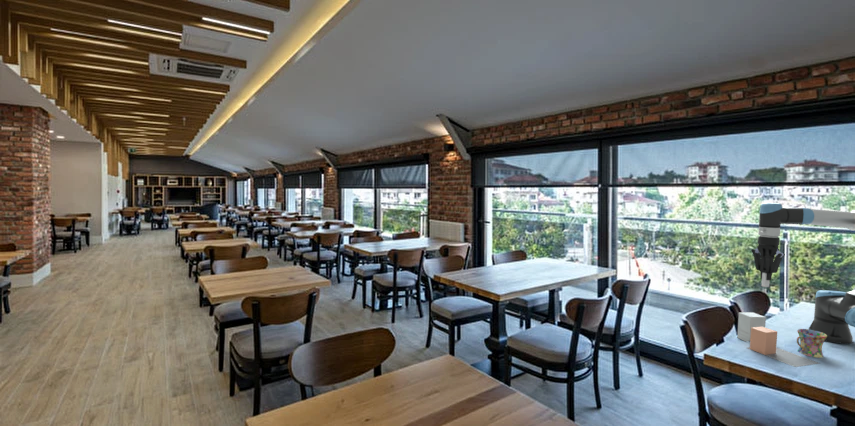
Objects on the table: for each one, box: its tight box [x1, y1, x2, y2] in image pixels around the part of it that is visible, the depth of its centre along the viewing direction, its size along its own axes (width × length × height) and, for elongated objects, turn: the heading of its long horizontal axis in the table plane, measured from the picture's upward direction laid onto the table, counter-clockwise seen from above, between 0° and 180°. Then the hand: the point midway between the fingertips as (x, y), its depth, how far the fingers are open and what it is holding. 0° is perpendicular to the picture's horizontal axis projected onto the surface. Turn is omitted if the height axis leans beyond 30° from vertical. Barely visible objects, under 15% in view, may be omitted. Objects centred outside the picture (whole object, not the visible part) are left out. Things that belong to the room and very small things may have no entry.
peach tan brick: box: [749, 326, 778, 356], centre depth 170 cm, size 6×6×10 cm
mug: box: [796, 328, 827, 358], centre depth 168 cm, size 12×9×11 cm
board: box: [746, 346, 821, 368], centre depth 167 cm, size 14×19×2 cm
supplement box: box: [736, 311, 767, 343], centre depth 186 cm, size 7×7×13 cm
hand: (765, 286), depth 183 cm, fingers closed
